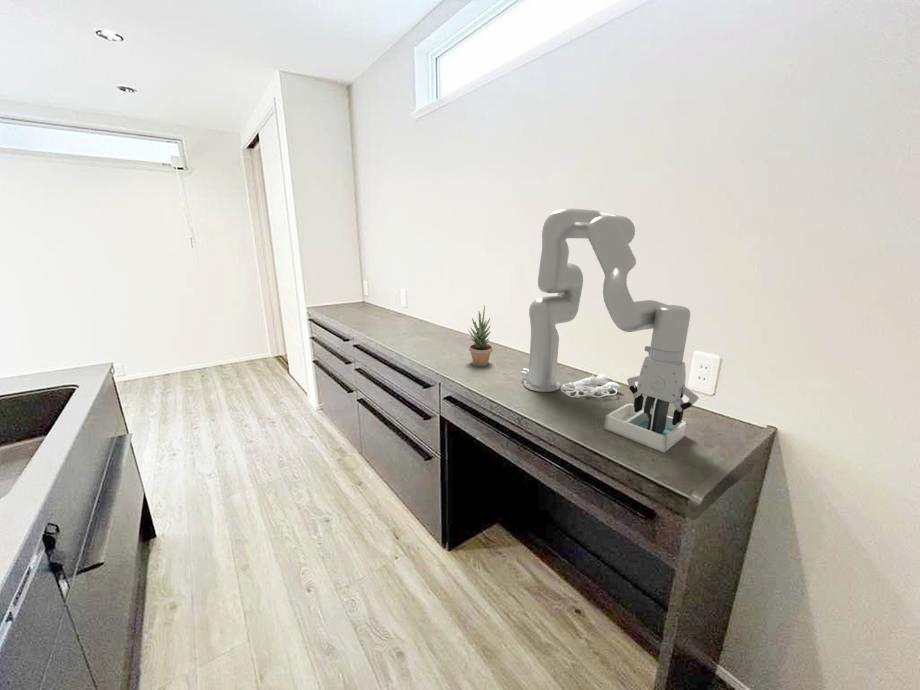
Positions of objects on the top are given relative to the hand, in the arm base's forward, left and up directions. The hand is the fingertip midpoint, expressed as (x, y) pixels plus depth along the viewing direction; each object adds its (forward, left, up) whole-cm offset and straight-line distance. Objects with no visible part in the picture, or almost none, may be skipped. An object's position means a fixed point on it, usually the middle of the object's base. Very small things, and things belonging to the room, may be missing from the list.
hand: (656, 416), depth 101 cm
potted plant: (-74, +7, -6) cm, 74 cm away
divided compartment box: (-3, 0, -6) cm, 6 cm away
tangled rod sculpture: (-27, +15, -6) cm, 31 cm away
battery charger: (-1, 0, -5) cm, 5 cm away
